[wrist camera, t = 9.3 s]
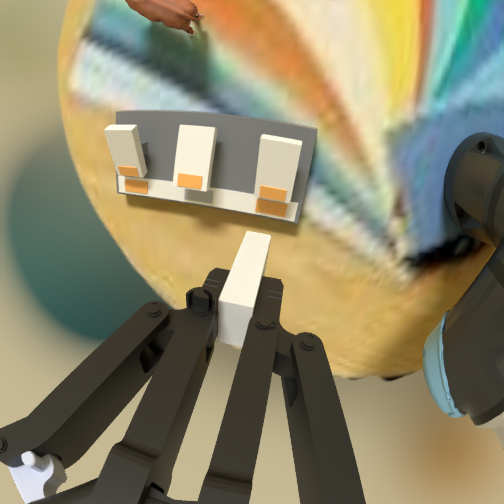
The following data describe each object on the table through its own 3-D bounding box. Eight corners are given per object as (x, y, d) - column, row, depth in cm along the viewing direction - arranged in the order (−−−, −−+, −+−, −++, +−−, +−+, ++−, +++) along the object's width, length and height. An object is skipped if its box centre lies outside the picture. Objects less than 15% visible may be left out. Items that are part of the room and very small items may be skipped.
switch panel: (316, 128, 29) (318, 131, 26) (297, 217, 35) (297, 229, 32) (124, 110, 31) (109, 112, 28) (124, 188, 37) (111, 196, 34)
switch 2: (302, 141, 26) (301, 145, 25) (290, 197, 31) (289, 204, 30) (262, 133, 26) (260, 138, 25) (255, 190, 31) (253, 197, 30)
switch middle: (218, 128, 28) (214, 127, 26) (209, 190, 30) (205, 191, 29) (183, 125, 28) (179, 124, 27) (176, 185, 30) (171, 186, 29)
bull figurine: (152, -19, 20) (119, -37, 13) (220, 23, 24) (197, 3, 17) (131, 4, 22) (95, -9, 15) (195, 47, 26) (165, 35, 19)
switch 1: (136, 124, 26) (131, 130, 26) (147, 171, 32) (142, 178, 31) (109, 124, 27) (103, 130, 26) (122, 169, 32) (117, 175, 32)
